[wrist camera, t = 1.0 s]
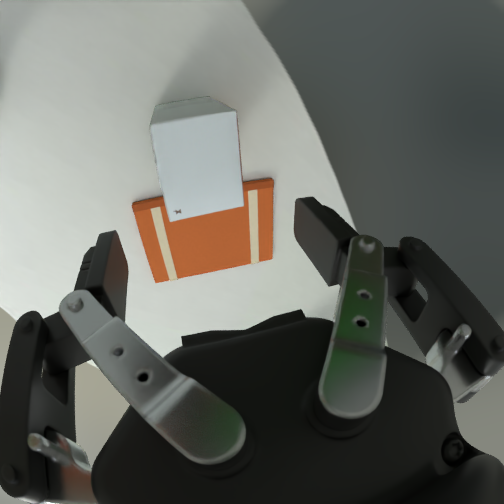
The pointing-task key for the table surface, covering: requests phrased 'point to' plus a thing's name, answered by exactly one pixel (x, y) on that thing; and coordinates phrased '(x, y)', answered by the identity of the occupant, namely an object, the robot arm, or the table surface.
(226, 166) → the small box
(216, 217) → the towel
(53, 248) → the table surface
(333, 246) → the robot arm
